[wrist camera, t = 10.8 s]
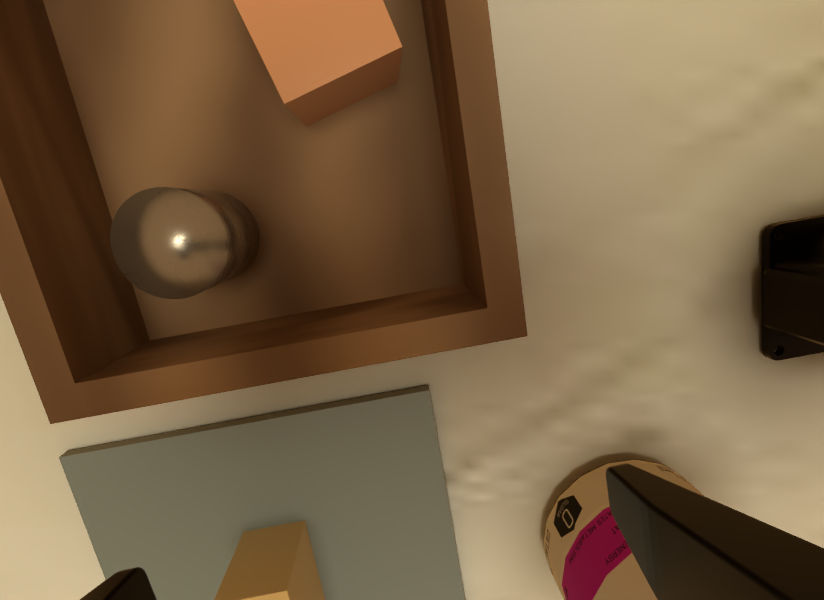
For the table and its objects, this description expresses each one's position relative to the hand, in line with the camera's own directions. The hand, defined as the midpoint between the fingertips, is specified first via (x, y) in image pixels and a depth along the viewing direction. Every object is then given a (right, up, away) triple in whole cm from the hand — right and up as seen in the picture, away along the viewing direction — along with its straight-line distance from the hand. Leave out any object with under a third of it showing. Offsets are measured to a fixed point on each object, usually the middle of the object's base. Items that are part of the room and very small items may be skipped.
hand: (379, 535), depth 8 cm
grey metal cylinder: (-8, +7, +10) cm, 14 cm away
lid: (-6, -9, +15) cm, 18 cm away
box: (-5, +11, +10) cm, 15 cm away
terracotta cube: (-3, +14, +9) cm, 17 cm away
